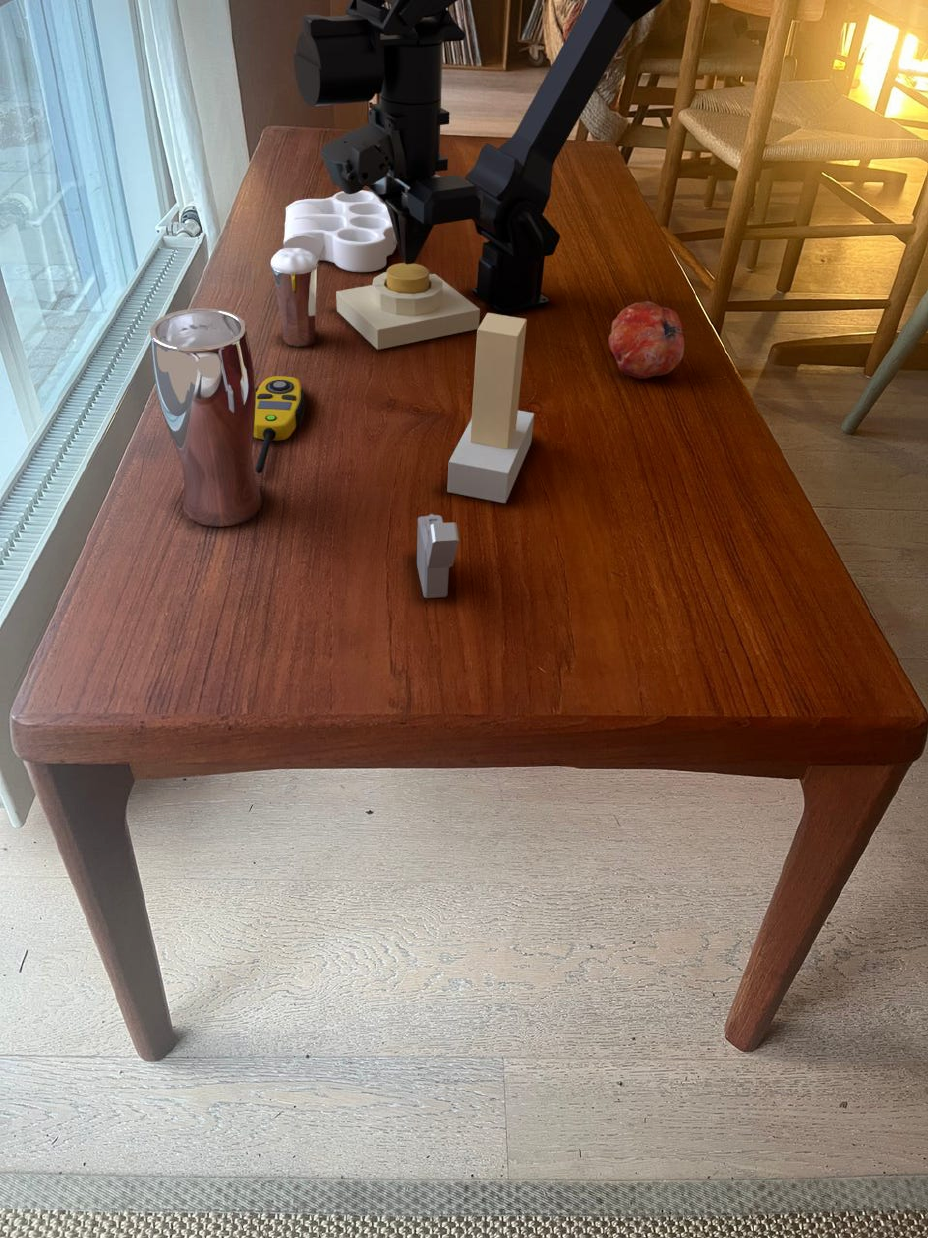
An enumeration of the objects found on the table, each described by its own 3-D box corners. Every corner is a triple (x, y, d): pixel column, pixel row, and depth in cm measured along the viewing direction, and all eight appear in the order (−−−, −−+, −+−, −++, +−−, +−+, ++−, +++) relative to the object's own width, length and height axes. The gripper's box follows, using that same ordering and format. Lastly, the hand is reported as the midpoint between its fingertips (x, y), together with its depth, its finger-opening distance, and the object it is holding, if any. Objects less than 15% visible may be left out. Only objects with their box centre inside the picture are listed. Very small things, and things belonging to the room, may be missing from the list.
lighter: (416, 562, 74) (418, 473, 68) (439, 561, 74) (442, 472, 69) (430, 625, 68) (433, 534, 63) (454, 623, 69) (459, 532, 63)
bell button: (416, 276, 104) (416, 259, 103) (436, 291, 102) (436, 275, 101) (379, 282, 103) (379, 266, 102) (398, 299, 100) (398, 282, 99)
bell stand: (434, 292, 110) (435, 257, 108) (479, 328, 104) (481, 292, 101) (336, 310, 105) (335, 274, 103) (377, 349, 99) (377, 312, 96)
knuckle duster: (287, 215, 125) (401, 216, 127) (284, 272, 112) (411, 272, 114) (285, 188, 123) (401, 189, 125) (281, 243, 110) (411, 243, 112)
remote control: (309, 373, 91) (286, 460, 80) (310, 392, 92) (288, 480, 81) (256, 371, 91) (227, 458, 79) (258, 390, 92) (230, 478, 81)
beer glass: (282, 491, 80) (266, 317, 70) (240, 539, 75) (217, 358, 65) (207, 473, 81) (181, 299, 71) (161, 518, 76) (126, 338, 66)
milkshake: (321, 353, 98) (316, 254, 91) (270, 346, 98) (261, 247, 92) (334, 334, 101) (331, 237, 95) (285, 327, 102) (278, 230, 95)
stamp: (531, 442, 87) (546, 303, 79) (505, 503, 80) (519, 357, 71) (477, 432, 88) (487, 293, 79) (447, 492, 81) (454, 346, 72)
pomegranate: (589, 387, 100) (638, 369, 91) (586, 314, 100) (634, 288, 90) (653, 387, 102) (707, 369, 93) (650, 316, 102) (704, 291, 92)
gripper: (289, 77, 93) (300, 242, 103) (376, 133, 81) (377, 312, 91) (394, 69, 97) (394, 227, 108) (490, 120, 85) (480, 292, 96)
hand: (408, 262), depth 101 cm, fingers closed
